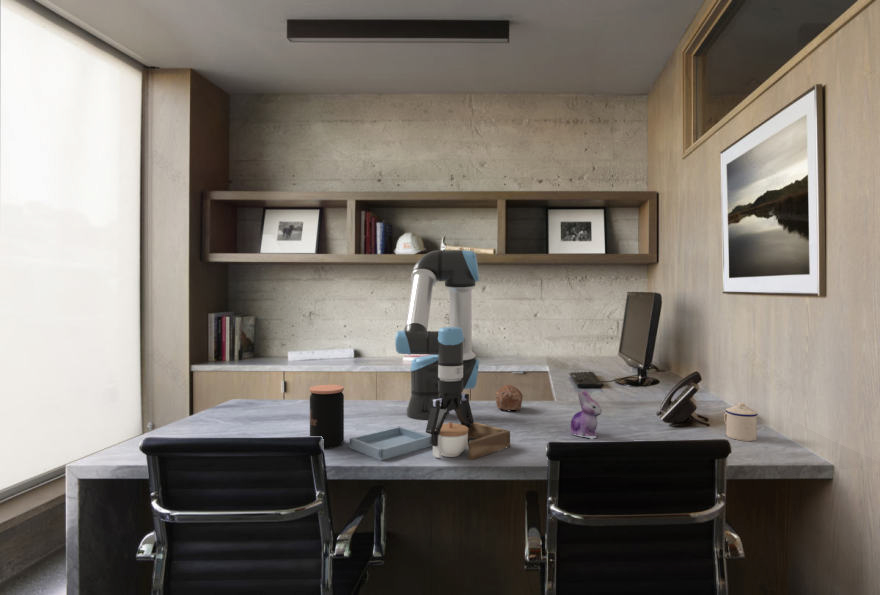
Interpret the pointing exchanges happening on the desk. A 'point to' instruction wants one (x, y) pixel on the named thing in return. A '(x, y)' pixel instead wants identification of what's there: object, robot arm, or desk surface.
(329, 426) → the coffee jar
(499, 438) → the dock
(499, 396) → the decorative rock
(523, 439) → the desk surface
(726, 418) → the teacup with lid
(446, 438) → the lidded jar
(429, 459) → the desk surface
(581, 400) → the figurine
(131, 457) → the desk surface
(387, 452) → the tray
